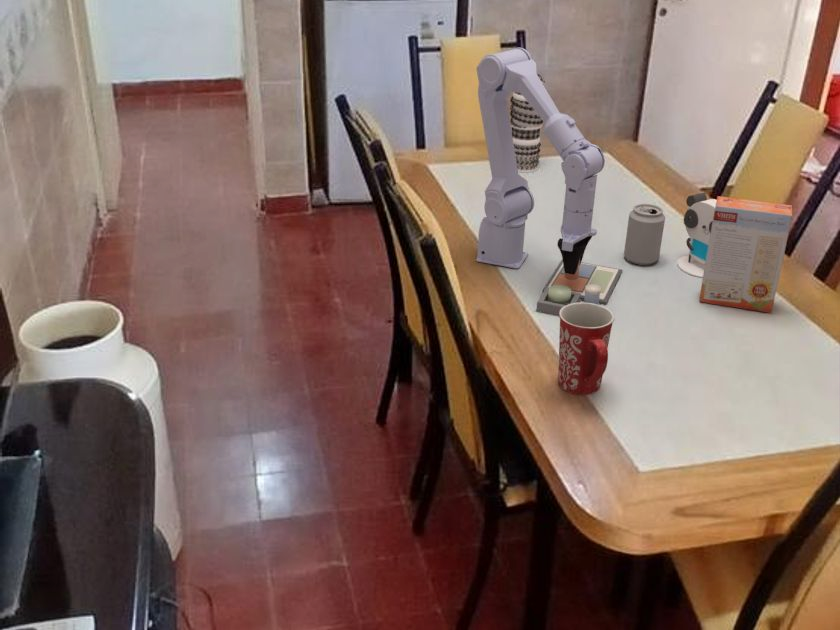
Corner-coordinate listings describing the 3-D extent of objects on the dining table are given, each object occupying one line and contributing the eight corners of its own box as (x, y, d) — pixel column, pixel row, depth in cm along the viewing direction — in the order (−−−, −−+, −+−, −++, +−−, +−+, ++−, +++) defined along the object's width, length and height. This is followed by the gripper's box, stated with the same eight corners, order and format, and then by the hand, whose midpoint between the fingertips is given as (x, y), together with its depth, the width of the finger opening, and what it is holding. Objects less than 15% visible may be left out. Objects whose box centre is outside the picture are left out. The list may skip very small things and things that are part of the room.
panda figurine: (663, 261, 206) (674, 196, 198) (701, 250, 211) (713, 187, 203) (704, 283, 197) (716, 216, 189) (743, 272, 202) (756, 206, 194)
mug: (545, 371, 165) (552, 303, 159) (594, 367, 167) (603, 299, 160) (568, 412, 154) (576, 341, 148) (620, 407, 156) (631, 337, 149)
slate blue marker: (580, 317, 183) (583, 289, 180) (584, 310, 185) (587, 282, 182) (595, 320, 182) (598, 292, 179) (598, 313, 184) (602, 285, 181)
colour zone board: (542, 292, 191) (542, 288, 191) (562, 261, 204) (562, 257, 204) (606, 305, 187) (606, 300, 187) (622, 272, 200) (622, 268, 200)
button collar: (536, 310, 185) (537, 301, 184) (545, 295, 190) (546, 286, 189) (571, 318, 182) (572, 308, 181) (579, 302, 188) (581, 293, 187)
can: (658, 268, 202) (666, 216, 196) (623, 265, 204) (630, 213, 198) (658, 254, 209) (666, 203, 203) (623, 250, 210) (630, 200, 204)
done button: (545, 301, 184) (546, 292, 183) (551, 292, 188) (552, 283, 187) (567, 306, 183) (568, 296, 182) (572, 296, 187) (573, 287, 186)
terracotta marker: (562, 278, 192) (565, 251, 189) (565, 272, 195) (568, 245, 192) (576, 281, 191) (579, 253, 188) (579, 275, 194) (582, 247, 191)
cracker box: (772, 301, 190) (793, 204, 180) (771, 314, 185) (793, 215, 175) (700, 289, 194) (717, 193, 184) (697, 302, 189) (715, 204, 179)
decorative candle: (504, 172, 252) (510, 78, 240) (507, 160, 260) (513, 69, 248) (538, 174, 251) (546, 80, 239) (540, 162, 259) (548, 71, 247)
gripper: (590, 224, 178) (583, 288, 185) (606, 197, 190) (599, 259, 197) (553, 218, 181) (548, 281, 187) (572, 192, 193) (566, 253, 199)
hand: (572, 269), depth 192 cm, fingers closed on terracotta marker, 3 cm apart
